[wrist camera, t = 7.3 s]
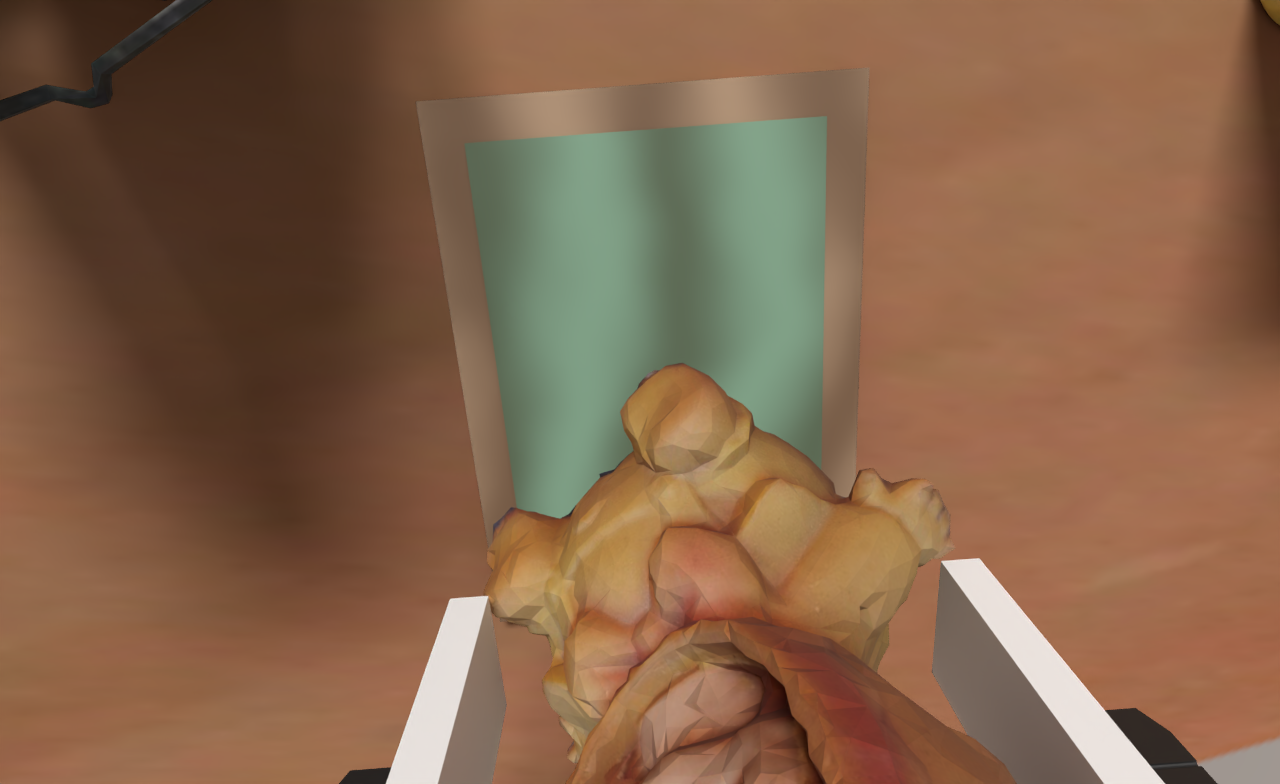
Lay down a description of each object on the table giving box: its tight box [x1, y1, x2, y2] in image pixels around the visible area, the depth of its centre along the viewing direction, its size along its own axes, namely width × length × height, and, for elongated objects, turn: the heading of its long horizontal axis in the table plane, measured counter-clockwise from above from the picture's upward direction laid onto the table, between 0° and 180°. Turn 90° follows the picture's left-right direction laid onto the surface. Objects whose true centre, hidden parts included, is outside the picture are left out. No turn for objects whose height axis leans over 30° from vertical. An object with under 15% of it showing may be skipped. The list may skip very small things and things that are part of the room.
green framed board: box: [416, 68, 869, 622], centre depth 30 cm, size 16×22×1 cm
